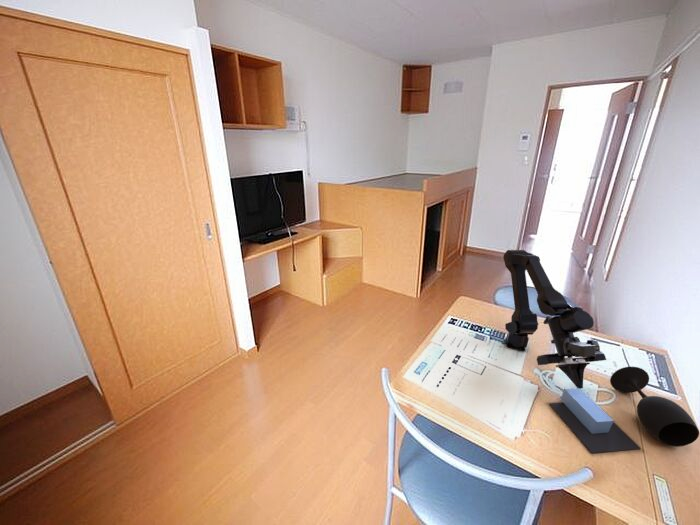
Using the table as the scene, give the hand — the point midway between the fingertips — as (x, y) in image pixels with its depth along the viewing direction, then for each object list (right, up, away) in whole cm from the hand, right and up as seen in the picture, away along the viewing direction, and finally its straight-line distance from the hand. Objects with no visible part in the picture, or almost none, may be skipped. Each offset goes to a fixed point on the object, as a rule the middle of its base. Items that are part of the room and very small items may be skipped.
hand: (580, 388), depth 91 cm
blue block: (0, -3, +4) cm, 5 cm away
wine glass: (+20, 0, +7) cm, 22 cm away
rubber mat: (+1, -9, -3) cm, 10 cm away
